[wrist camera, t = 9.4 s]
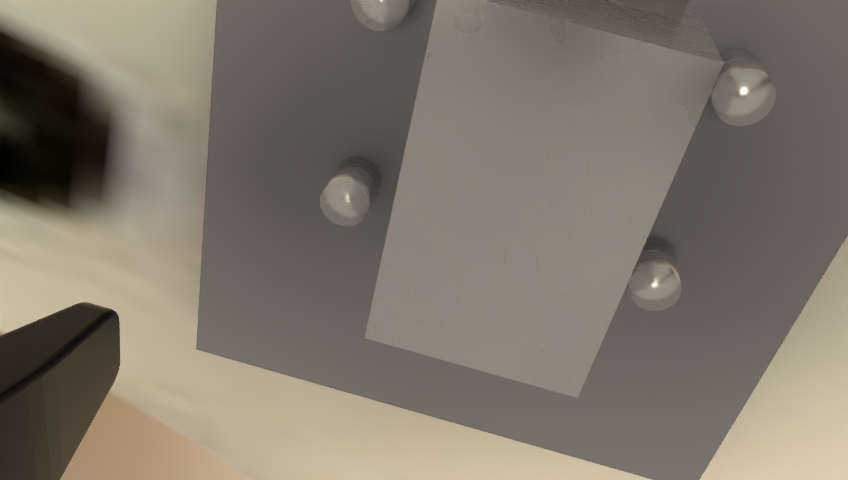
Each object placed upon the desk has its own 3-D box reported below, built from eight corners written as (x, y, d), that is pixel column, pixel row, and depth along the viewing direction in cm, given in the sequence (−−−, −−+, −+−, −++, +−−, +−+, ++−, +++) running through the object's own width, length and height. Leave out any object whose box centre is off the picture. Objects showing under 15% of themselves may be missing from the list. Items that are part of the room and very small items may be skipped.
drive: (704, -19, 16) (736, 34, 13) (578, 297, 21) (577, 397, 17) (474, -78, 16) (445, -42, 13) (400, 247, 21) (364, 338, 17)
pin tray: (1125, -278, 14) (1224, -290, 12) (688, 465, 24) (698, 531, 22) (266, -483, 14) (212, -527, 12) (209, 330, 25) (175, 380, 23)
